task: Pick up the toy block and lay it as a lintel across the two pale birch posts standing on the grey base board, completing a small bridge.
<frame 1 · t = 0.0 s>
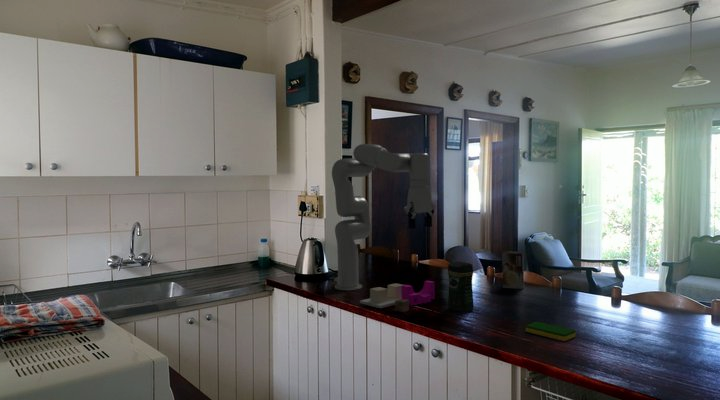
hand: (420, 227, 206), 31 cm above the countertop, tool pointing down, fingers open, 9 cm apart
dish sponge: (550, 335, 168), on the countertop
toy block: (420, 302, 213), on the countertop
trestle: (387, 301, 215), on the countertop
coffee box: (513, 287, 237), on the countertop
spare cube: (402, 310, 200), on the countertop
coffee jar: (460, 309, 200), on the countertop
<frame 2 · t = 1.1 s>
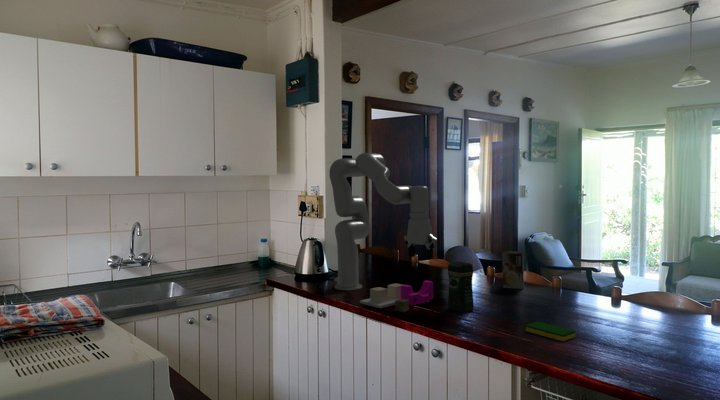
hand: (420, 258, 212), 18 cm above the countertop, tool pointing down, fingers open, 9 cm apart
nothing on the countertop moved.
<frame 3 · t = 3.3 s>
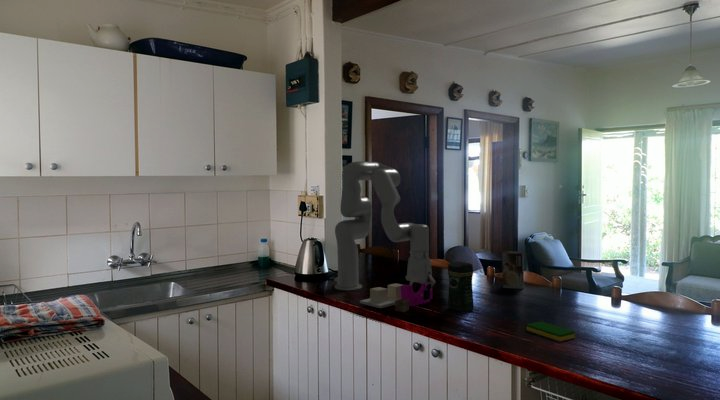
hand: (420, 297, 213), 2 cm above the countertop, tool pointing down, fingers closed on toy block, 6 cm apart
toy block: (419, 302, 213), on the countertop, touching gripper
everything else where it was.
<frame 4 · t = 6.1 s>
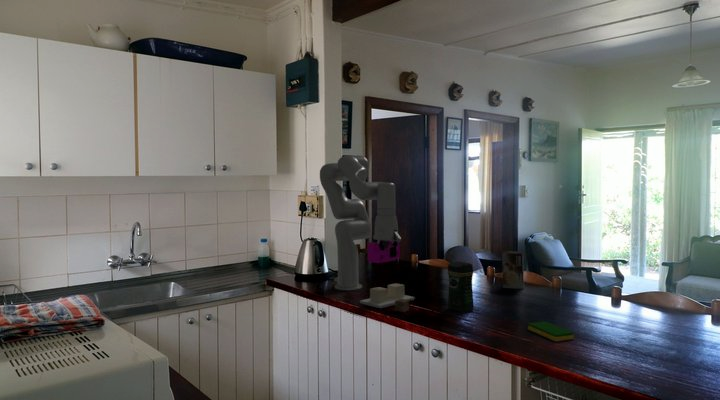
hand: (387, 255, 214), 19 cm above the countertop, tool pointing down, fingers closed on toy block, 6 cm apart
toy block: (386, 260, 213), point 17 cm above the countertop, touching gripper
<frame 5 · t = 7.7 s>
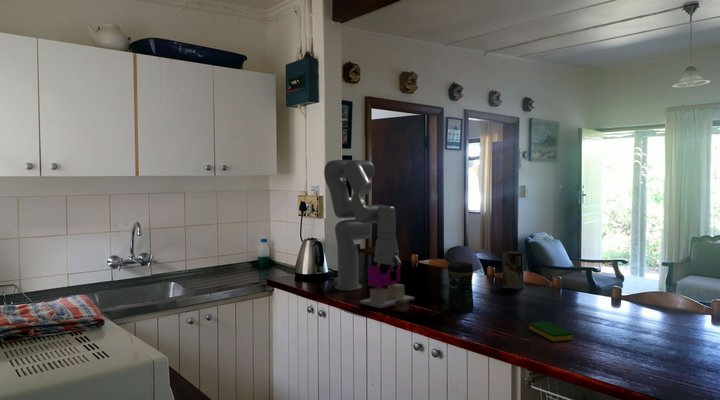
hand: (387, 279, 214), 9 cm above the countertop, tool pointing down, fingers closed on toy block, 6 cm apart
toy block: (386, 283, 214), point 7 cm above the countertop, touching gripper
when the fingers open (8 cm above the countertop, at t = 8.8 s): toy block stays where it is, resting on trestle.
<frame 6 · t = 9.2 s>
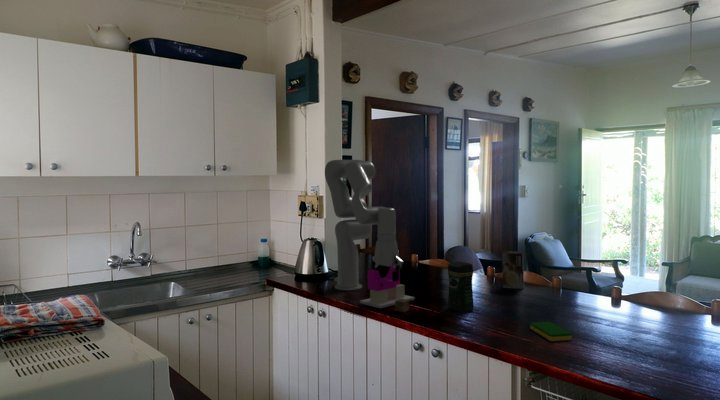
hand: (387, 279, 214), 9 cm above the countertop, tool pointing down, fingers open, 9 cm apart
toy block: (386, 287, 214), point 6 cm above the countertop, touching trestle
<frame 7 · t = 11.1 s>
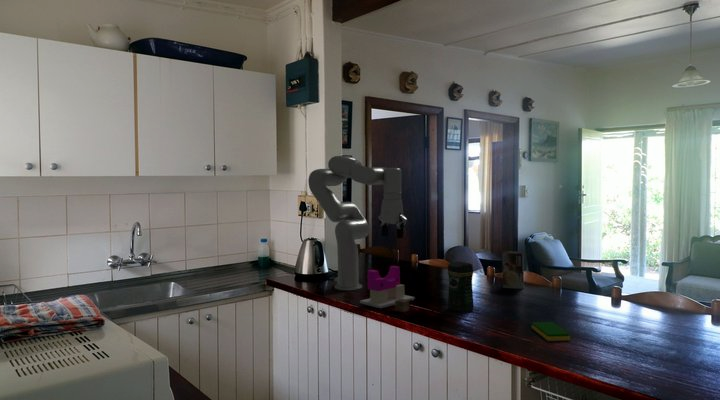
hand: (392, 236, 222), 26 cm above the countertop, tool pointing down, fingers open, 9 cm apart
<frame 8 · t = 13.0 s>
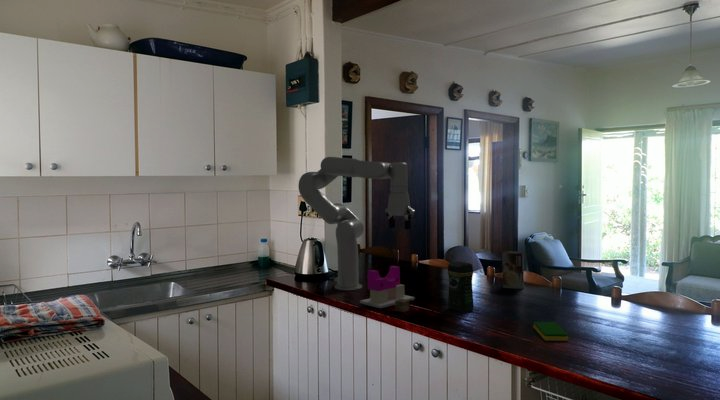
hand: (399, 228, 231), 28 cm above the countertop, tool pointing down, fingers open, 9 cm apart
at the end: toy block inside the target area on the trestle (0.5 cm from its centre), point 5.8 cm above the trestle's base; toy block tilted 0°; the gripper is holding nothing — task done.
